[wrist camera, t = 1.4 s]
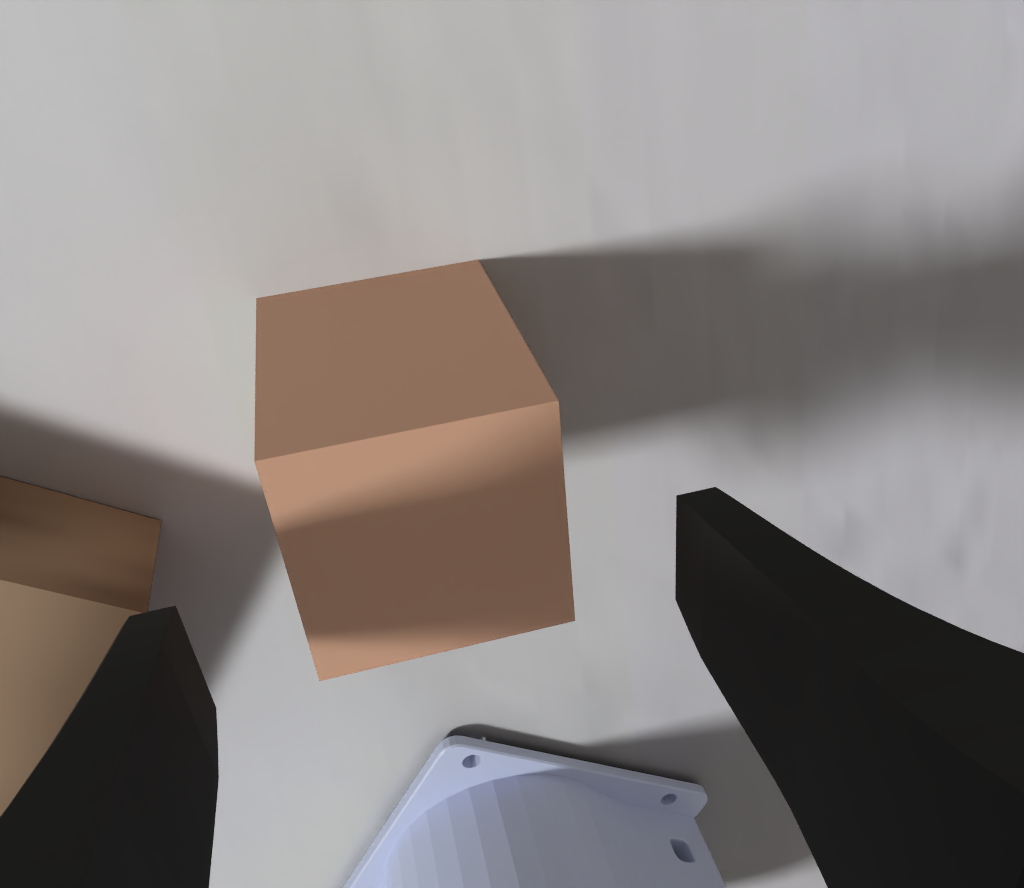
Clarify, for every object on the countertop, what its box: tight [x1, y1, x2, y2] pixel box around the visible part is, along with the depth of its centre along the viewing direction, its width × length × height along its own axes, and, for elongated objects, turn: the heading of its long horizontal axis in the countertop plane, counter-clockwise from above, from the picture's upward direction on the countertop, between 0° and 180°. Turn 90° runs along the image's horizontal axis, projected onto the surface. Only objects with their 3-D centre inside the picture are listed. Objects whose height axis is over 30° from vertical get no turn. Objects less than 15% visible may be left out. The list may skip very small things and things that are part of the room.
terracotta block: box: [255, 260, 575, 681], centre depth 17 cm, size 4×4×6 cm
